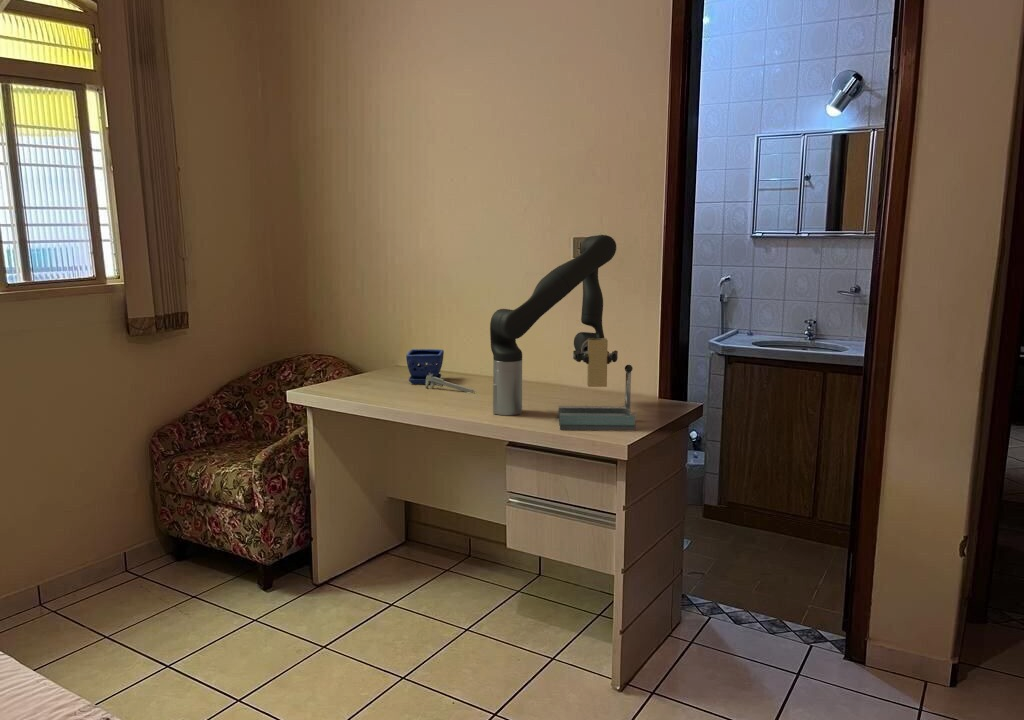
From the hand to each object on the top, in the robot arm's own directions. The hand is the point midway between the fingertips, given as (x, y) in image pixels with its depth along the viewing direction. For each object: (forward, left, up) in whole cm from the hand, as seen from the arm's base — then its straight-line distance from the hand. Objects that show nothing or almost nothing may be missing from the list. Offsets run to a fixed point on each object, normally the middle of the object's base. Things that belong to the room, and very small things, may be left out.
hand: (598, 360), depth 232 cm
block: (0, +3, -8) cm, 8 cm away
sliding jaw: (0, +9, -19) cm, 21 cm away
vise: (0, +3, -20) cm, 20 cm away
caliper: (-49, +52, -21) cm, 74 cm away
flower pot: (-60, +68, -20) cm, 93 cm away
